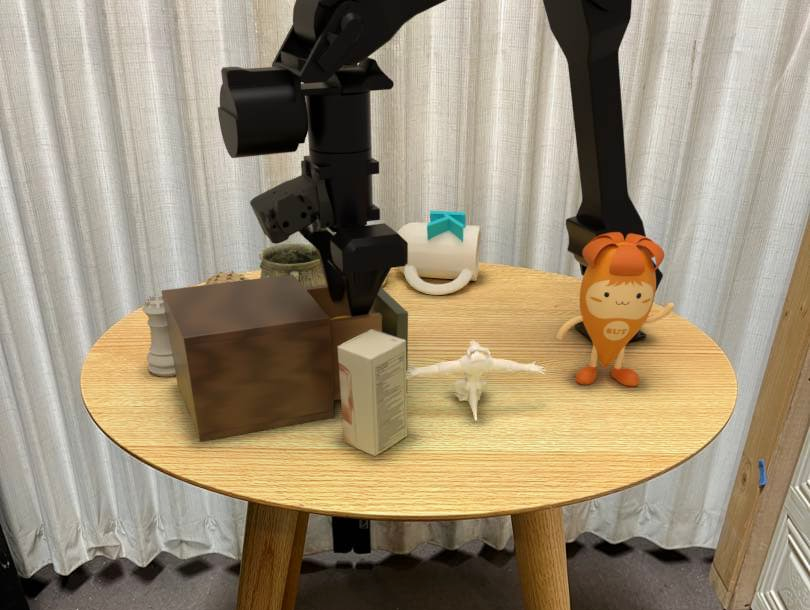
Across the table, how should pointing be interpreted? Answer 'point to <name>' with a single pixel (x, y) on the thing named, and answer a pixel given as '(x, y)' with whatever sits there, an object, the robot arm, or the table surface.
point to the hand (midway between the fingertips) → (347, 312)
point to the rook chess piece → (159, 338)
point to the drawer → (359, 323)
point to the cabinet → (250, 355)
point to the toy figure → (616, 299)
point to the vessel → (293, 263)
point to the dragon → (473, 372)
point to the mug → (441, 252)
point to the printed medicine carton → (373, 391)
